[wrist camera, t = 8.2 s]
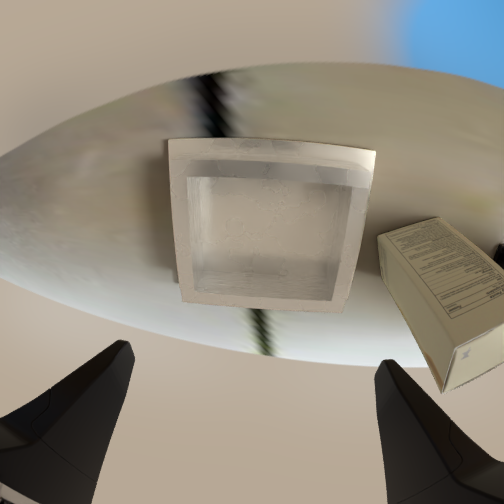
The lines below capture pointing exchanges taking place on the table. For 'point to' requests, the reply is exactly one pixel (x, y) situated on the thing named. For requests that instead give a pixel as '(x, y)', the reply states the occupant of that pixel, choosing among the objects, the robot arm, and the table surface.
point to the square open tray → (268, 221)
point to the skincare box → (446, 299)
